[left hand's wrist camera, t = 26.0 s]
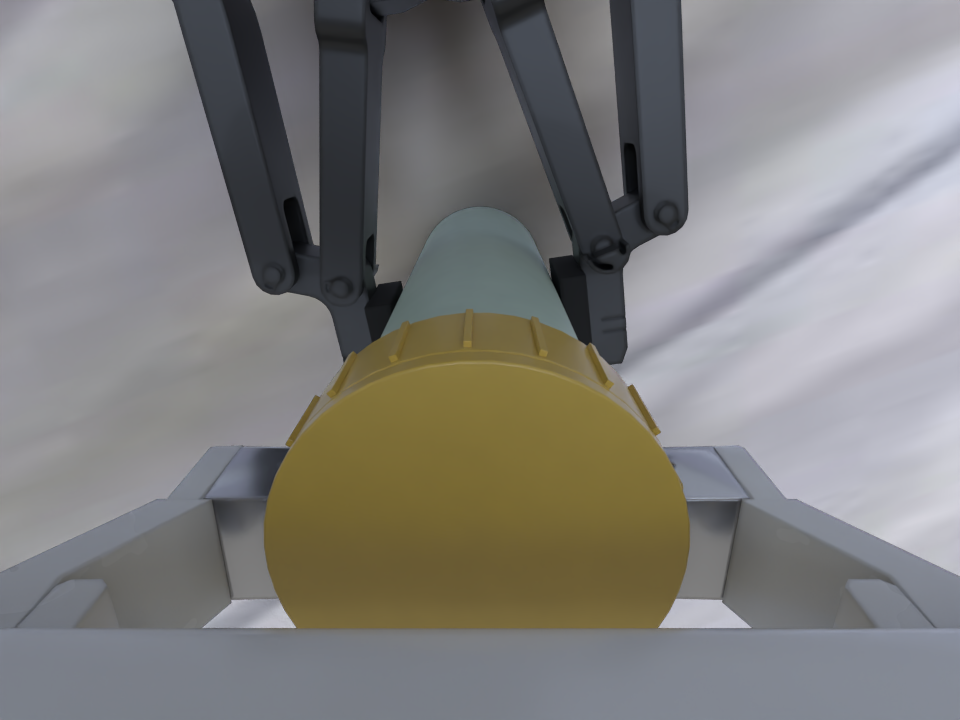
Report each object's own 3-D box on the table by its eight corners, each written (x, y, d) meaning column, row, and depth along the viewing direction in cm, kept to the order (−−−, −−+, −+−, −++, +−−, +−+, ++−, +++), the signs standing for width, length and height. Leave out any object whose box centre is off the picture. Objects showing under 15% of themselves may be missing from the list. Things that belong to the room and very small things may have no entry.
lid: (548, 656, 12) (561, 759, 10) (251, 543, 11) (201, 634, 9) (726, 406, 10) (787, 474, 8) (381, 240, 9) (354, 271, 7)
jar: (490, 344, 26) (504, 685, 10) (398, 277, 25) (253, 542, 9) (563, 255, 25) (709, 490, 9) (468, 181, 24) (441, 296, 8)
